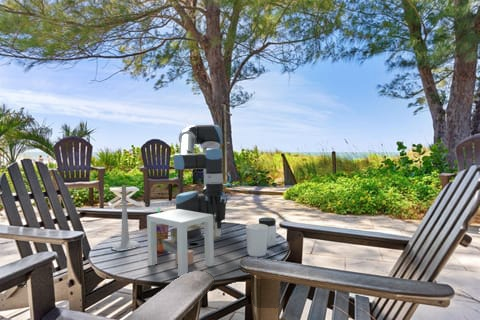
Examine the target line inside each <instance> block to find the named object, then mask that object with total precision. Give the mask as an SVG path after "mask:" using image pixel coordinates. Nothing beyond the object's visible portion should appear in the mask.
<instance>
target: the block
mask: <svg viewBox="0 0 480 320" xmlns="http://www.w3.org/2000/svg"><path fill="white" fill-rule="evenodd" d="M187 256H188V266H190V265H192V264H194V261H195V260H194V250H192V249H191V250H190V249H188V248H187ZM177 264H178V254H176V256H175V265H177Z"/></svg>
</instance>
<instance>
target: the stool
mask: <svg viewBox="0 0 480 320" xmlns="http://www.w3.org/2000/svg"><path fill="white" fill-rule="evenodd" d="M156 222H157V223H161V224H165V225H169V226H171V227H174V228H177V253H178V265H177V277H178V276H181V275H183V274H185V273H187V272H188V273H189V268H188V267H189V265H188V256H187V249H188V239H187V227H188V226H191V225H195V224H199V223H203V222H204V227H203V234H204V237H203V238H204V242H203V243H204V265H205V267H206V266H207V267H212V266H215V258H214V256H215V254H214V252H215V250H214V248H215V247H214V246H215V245H214V240H213V215H212V214H206V213H200V212H194V211H188V210H182V209H176V208H175V209H172V210H167V211H162V212H161V211H160V213H158V212H157V213H151V214H147V215H146V229H147V231H146V232H147V233H146V234H147V265H148V264H150V265H154V264H157V265H158V253H157V237H156ZM174 228H173V229H174ZM174 256H175V257H176V254H175V253H174Z"/></svg>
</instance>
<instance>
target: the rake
mask: <svg viewBox="0 0 480 320" xmlns="http://www.w3.org/2000/svg"><path fill="white" fill-rule="evenodd" d="M215 221H216V215H214V216H213V241H214V240H218V239H221V235H220V236H217V237H216V236H215ZM197 228H201V229H202V228H204V222H203V223H199V224H195V225H191V226H188V227H187V231H190V230H194V229H197ZM163 250H165V251H166V252H168V253H172V254H174V255H175V254H178V253H177V228H171V229H170V239H169V238H168V239H164V240H163Z"/></svg>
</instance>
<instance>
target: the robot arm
mask: <svg viewBox="0 0 480 320" xmlns="http://www.w3.org/2000/svg"><path fill="white" fill-rule="evenodd" d="M178 142H179V149H178V153H174V154H173V168H174V169H175V170H183V171H184V170H203V188H202V189H201V193H198V191H197V190H191V191H184V192H181V193H179V194H177V195H176V196H175V202H174V203H175V210H176V209H182V210H188V211H194V212H200V213H206V214H212V215H213V216H215V215H216V221H215V236H216V237H217V236H220V237H221V236H222V235H221V233H222V232H221V229H222V221H225V220H226V211H227V208H226V207H227V203H228V198H227V197H226V193H225V192H223V191H224V184H223V182H224V178H223V177H224V176H223V157H224V155H223V150H222V148H220V147H221V145H222V144H223V134H222V129H221V126H220V125H218V124H191V125H189V126H187V127H185V128H184V129H182V130H181V131H180V133H179V136H178ZM195 145H199V147H200V148H201V149H202V153H201V152H200V153H199V152H195ZM202 231H203V230H202V227H201V228H197V229H194V230H190V231H187V240H189V239H195V238H199V237H201V236H202Z"/></svg>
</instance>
